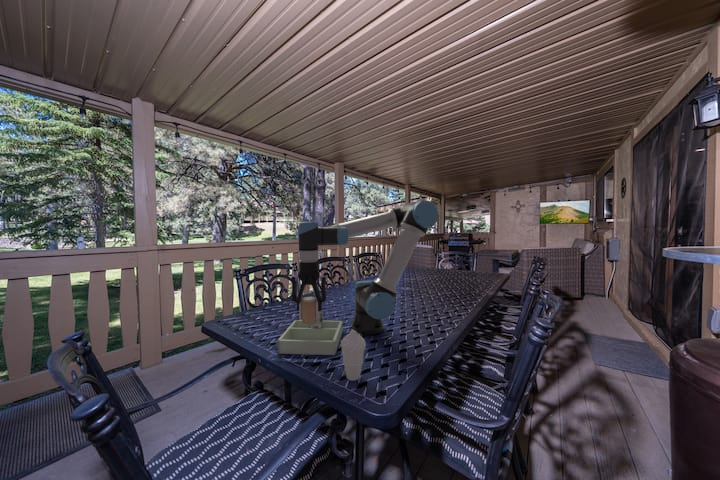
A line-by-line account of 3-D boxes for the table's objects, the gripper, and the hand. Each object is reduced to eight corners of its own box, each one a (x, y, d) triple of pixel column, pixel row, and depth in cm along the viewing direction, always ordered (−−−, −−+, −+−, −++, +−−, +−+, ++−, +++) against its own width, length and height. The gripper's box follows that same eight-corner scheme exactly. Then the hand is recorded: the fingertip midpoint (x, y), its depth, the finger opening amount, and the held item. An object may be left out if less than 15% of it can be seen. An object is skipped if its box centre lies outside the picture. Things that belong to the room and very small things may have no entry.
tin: (324, 333, 121) (324, 310, 121) (321, 338, 115) (321, 315, 115) (311, 332, 122) (310, 310, 121) (307, 338, 116) (307, 315, 115)
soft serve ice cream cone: (340, 370, 92) (339, 324, 91) (364, 369, 92) (364, 323, 92) (340, 385, 83) (340, 334, 82) (367, 383, 84) (367, 333, 83)
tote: (342, 333, 123) (342, 320, 122) (335, 357, 101) (334, 341, 101) (295, 332, 124) (295, 320, 124) (277, 356, 102) (277, 340, 102)
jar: (318, 319, 110) (318, 296, 110) (315, 324, 104) (314, 300, 104) (304, 318, 111) (303, 296, 110) (299, 324, 105) (299, 300, 104)
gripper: (334, 259, 109) (334, 316, 110) (288, 259, 110) (289, 315, 112) (330, 262, 102) (331, 322, 103) (281, 262, 103) (282, 321, 104)
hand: (309, 318), depth 107 cm, fingers closed on jar, 6 cm apart
